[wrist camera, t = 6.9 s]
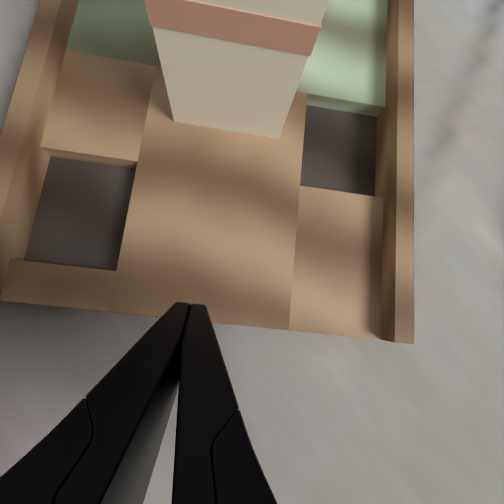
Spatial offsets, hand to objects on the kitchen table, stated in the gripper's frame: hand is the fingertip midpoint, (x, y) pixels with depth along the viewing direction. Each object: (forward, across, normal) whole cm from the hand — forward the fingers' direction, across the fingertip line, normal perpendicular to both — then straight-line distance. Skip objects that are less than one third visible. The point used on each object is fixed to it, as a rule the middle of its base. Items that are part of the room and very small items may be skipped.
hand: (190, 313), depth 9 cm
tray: (+14, 0, -3) cm, 15 cm away
